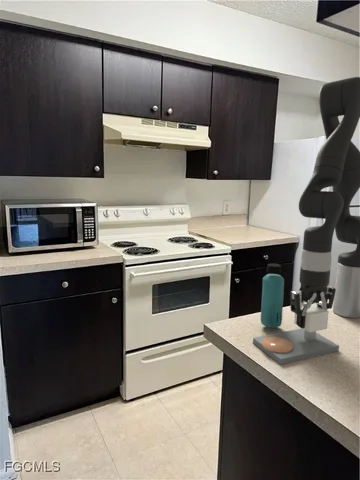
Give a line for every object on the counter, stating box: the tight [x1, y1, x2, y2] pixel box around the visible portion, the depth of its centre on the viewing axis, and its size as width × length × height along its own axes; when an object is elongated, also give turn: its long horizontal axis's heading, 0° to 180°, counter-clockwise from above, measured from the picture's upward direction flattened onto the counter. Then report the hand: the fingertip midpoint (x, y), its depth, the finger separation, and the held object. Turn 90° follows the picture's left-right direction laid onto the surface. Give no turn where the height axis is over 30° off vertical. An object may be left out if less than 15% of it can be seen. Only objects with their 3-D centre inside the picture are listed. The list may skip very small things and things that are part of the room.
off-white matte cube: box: [293, 303, 329, 332], centre depth 94 cm, size 6×6×5 cm
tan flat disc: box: [262, 337, 293, 353], centre depth 91 cm, size 8×8×1 cm
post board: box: [252, 328, 340, 365], centre depth 93 cm, size 19×12×8 cm, turn 112°
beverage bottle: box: [260, 263, 285, 328], centre depth 103 cm, size 6×7×20 cm
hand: (310, 325), depth 95 cm, fingers closed on off-white matte cube, 6 cm apart
